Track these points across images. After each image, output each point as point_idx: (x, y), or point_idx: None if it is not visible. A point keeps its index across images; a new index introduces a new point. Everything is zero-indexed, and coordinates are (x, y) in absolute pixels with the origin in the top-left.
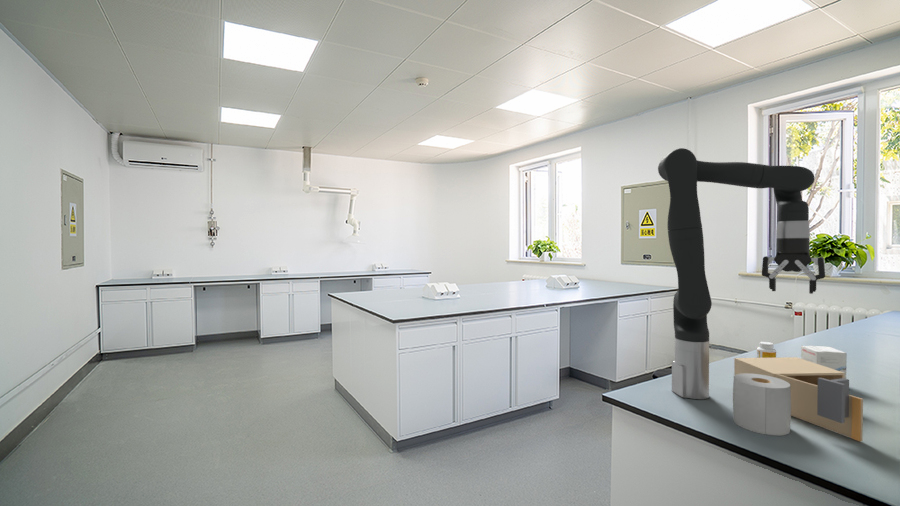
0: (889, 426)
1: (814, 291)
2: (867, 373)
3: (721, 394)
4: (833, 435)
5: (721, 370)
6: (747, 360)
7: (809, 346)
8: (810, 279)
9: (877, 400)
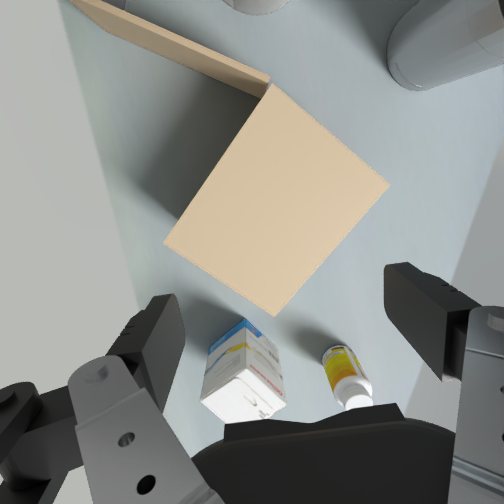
0: (107, 175)
1: (143, 310)
2: None
3: (369, 112)
4: None
5: None
6: (357, 184)
7: (270, 407)
8: (134, 374)
9: None
